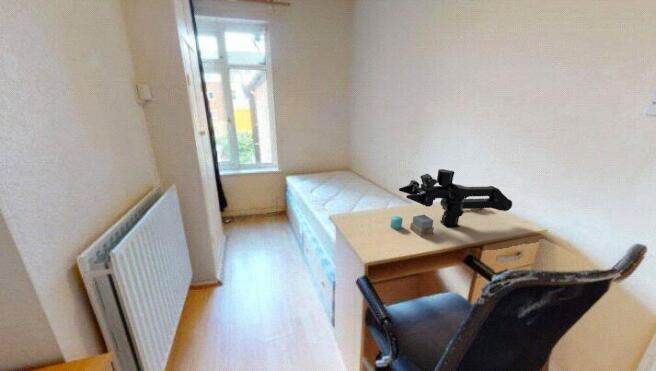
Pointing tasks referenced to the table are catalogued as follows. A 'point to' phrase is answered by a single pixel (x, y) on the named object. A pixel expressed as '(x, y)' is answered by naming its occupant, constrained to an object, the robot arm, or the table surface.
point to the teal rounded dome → (396, 222)
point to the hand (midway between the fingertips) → (402, 193)
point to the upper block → (422, 221)
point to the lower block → (421, 230)
